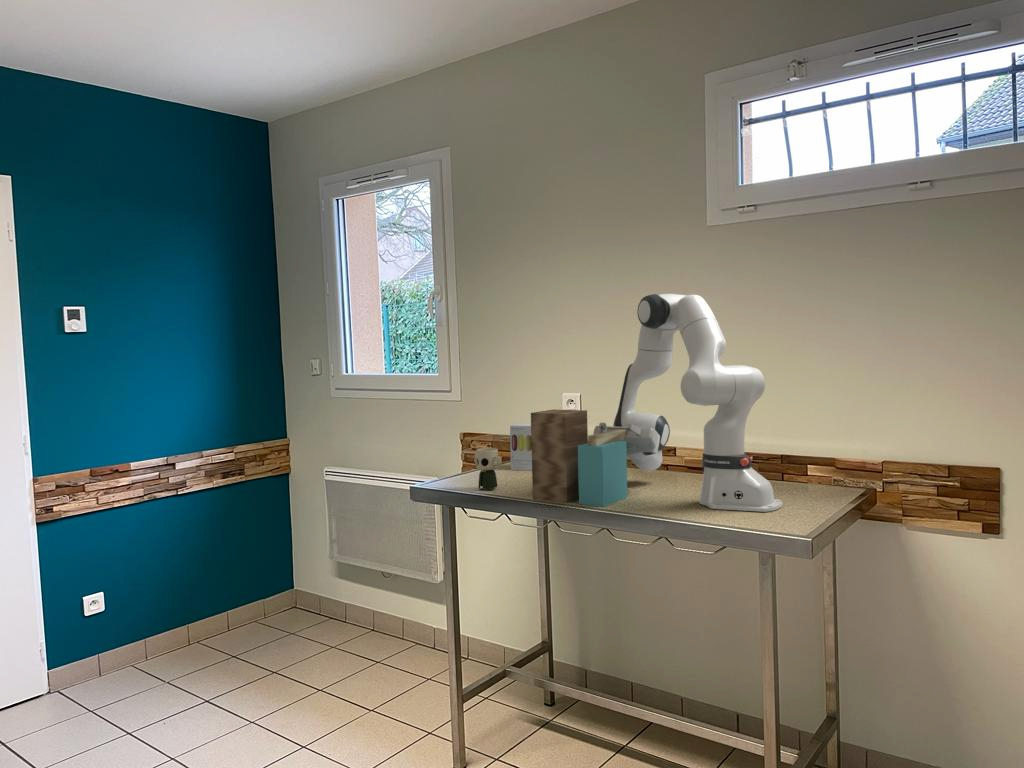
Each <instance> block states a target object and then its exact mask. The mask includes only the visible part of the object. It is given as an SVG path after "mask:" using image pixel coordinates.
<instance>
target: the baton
mask: <svg viewBox="0 0 1024 768" xmlns="http://www.w3.org/2000/svg"><path fill="white" fill-rule="evenodd" d="M627 430H628V429H616V430H612V431H607V432H603V433H598V434H593V433H592V434H588V445H591V446H598V445H602V444H606V443H611V442H615V441H619V440H623V439H626V438H625V435H626V434H627Z"/></svg>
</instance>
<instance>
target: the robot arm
mask: <svg viewBox="0 0 1024 768" xmlns="http://www.w3.org/2000/svg"><path fill="white" fill-rule="evenodd" d="M636 314H637V318H638V320H639V323H640V324H641V325H640V329H639V330H640V331H639V334H638V335H639V336H638V343H637V353H636V357H635V359H634V361H633V363H631V364H629V365H628V367H627V369H626V372H625V375H624V379H623V385H622V391H621V394H620V397H619V398H620V399H619V404H618V409H617V413H616V415H615V416H614V420H613V421H614V422H613V425H612V426H611V425H607V423H606V422H600V423H598V425H596V426H595V427H594V429H593V433H592V435H593V434H598V433H603V432H607V431H612V430H616V429H628V430H627V434H626V435H625V438H626V439H623V440H619V441H626V450H627V459H629V460H630V461H631V462H632V463H633V464H634V465H635V466H636V467H638V468H639V469H641V470H643V471H644V472H653V471H655V470H658V469H659V468H660V467H661V465H662V464H663V452H662V451H663V449H664V447H665V446H666V445H667V443H668V442H669V439H670V433H671V429H670V425H669V422H668V421H667V419H666V417H665V416H663V415H659V414H656V413H655V414H653V413H645V412H644V413H643V412H638V411H636V410H635V406H636V401H637V397H638V392H639V388H640V385H641V384H642V383H644V382H645V381H647V380H650V379H654V378H657V377H660V376H662V375H663V374H665V373H666V372H667V371H668V370H669V369H670V367H671V366H672V361H673V349H674V348H673V347H674V335H675V333H676V332H677V331H679V333H680V336H681V339H682V341H683V343H684V347H685V348H686V349H685V350H686V352H687V355H688V359H689V361H688V362H689V363H688V369H687V370H686V371H685V372H684V374H683V375H682V378H681V381H680V393H681V395H682V397H683V399H685V401H686V402H687V403H689V404H691V405H699V406H703V407H707V406H710V407H711V406H718V407H717V409H716V412H715V414H714V416H712V418H711V419H709V420H708V421H706V423H705V425H704V427H703V453H702V458H701V467H702V472H703V476H702V477H703V479H702V486H701V490H700V491H701V492H700V496H699V499H698V504H700V505H702V506H706V507H707V508H709V509H712V510H727V511H729V510H730V511H743V512H762V513H763V512H764V513H766V512H773V511H776V510H778V509H780V508H782V507H783V501H782V500H780V499H778V498H776V499H775V495H774V489H773V485H772V483H771V482H770V481H769V480H768V479H766V478H765V477H764V476H763V475H762V474H760V473H758V471H756V470H755V469H754V468H753V467H752V461H753V456H749V455H748V454H746V453H745V433H746V432H745V428H746V424H747V419H748V417H749V414H750V412H751V409H752V408H753V407H754V405H755V404H756V402H757V401H758V400H759V399H760V398H762V396H763V395H764V392H765V388H766V380H765V377H764V374H763V373H762V371H761V370H760V369H758V368H756V367H754V366H749V365H743V364H738V365H737V364H735V365H723V364H721V362H720V360H719V358H720V357H721V356H722V354H724V352H725V350H726V347H727V341H726V338H725V336H724V334H723V331H722V329H721V327H720V324H719V322H718V321H717V319H716V316H715V314H714V311H712V309H711V307H710V305H709V304H708V303H707V302H706V300H705V299H704V297H702V296H700V295H699V294H689V295H687V294H676V293H661V294H657V293H653V294H652V293H651V294H648V295H645V296H643V297H642V298H641V299H640V301H639V303H638V305H637V312H636Z"/></svg>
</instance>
